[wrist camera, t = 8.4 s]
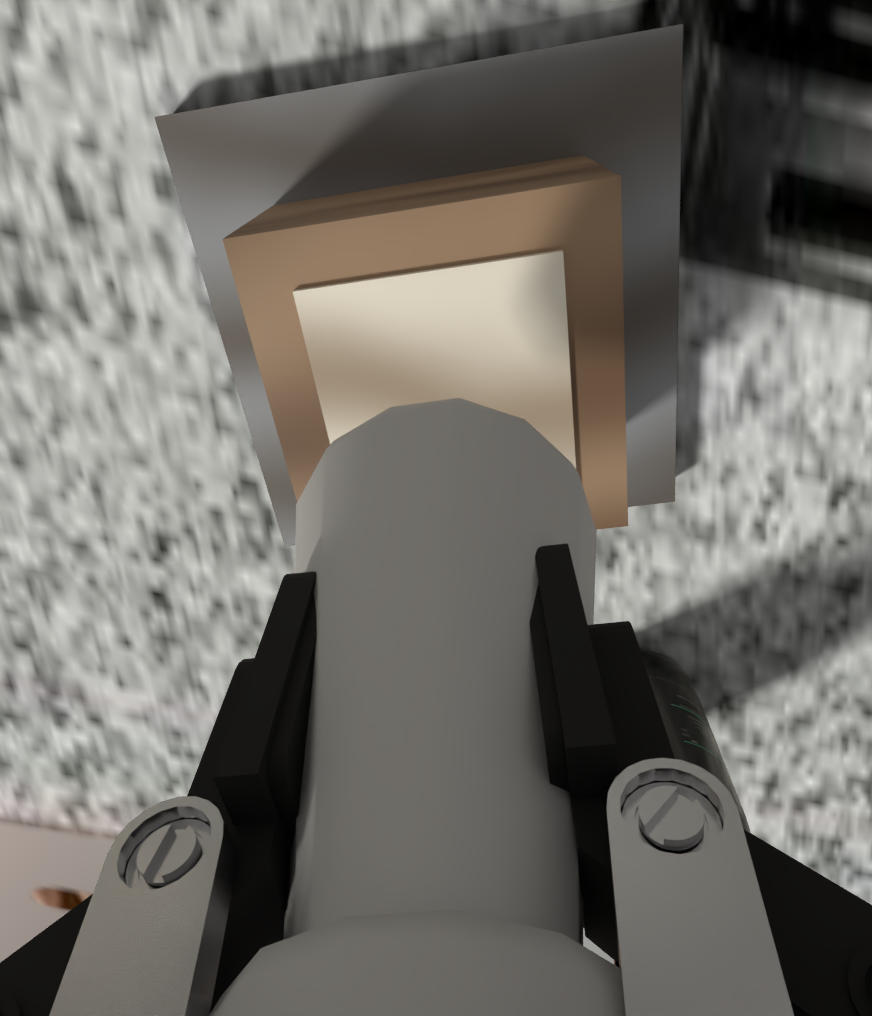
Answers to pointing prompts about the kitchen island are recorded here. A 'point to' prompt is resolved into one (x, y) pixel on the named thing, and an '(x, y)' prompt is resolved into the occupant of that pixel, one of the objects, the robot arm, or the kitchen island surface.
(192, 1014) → the robot arm
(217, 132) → the plinth
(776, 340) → the kitchen island surface
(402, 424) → the salt shaker
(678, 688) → the supplement bottle
